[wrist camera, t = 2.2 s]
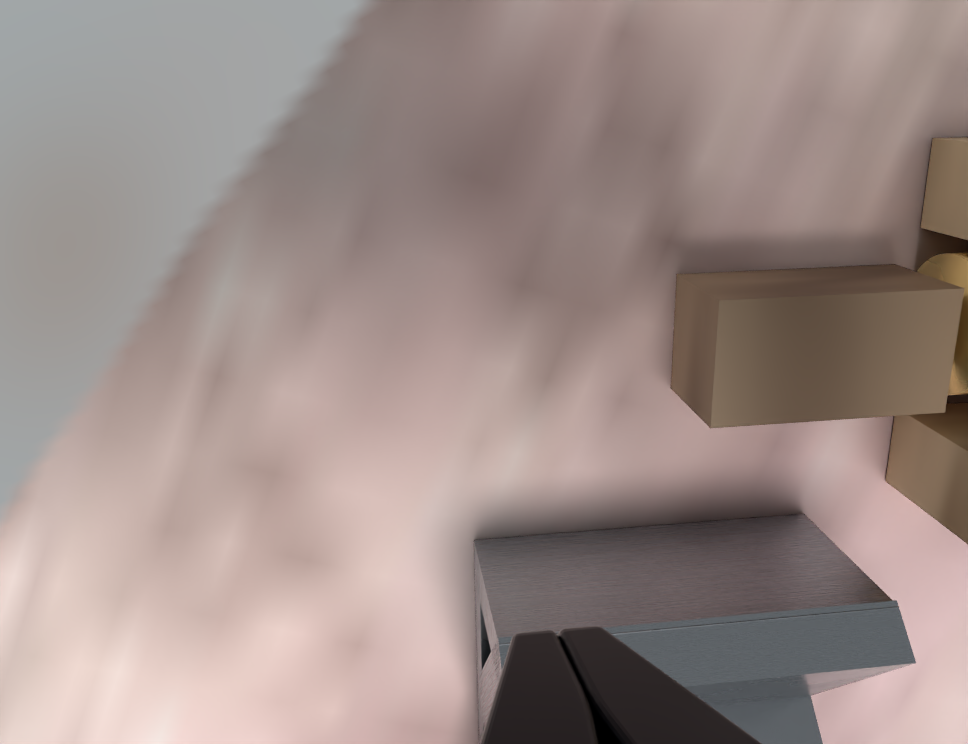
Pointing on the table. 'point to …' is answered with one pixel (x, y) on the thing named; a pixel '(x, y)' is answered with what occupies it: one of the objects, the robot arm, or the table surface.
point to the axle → (962, 273)
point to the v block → (700, 611)
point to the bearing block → (964, 426)
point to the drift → (813, 344)
